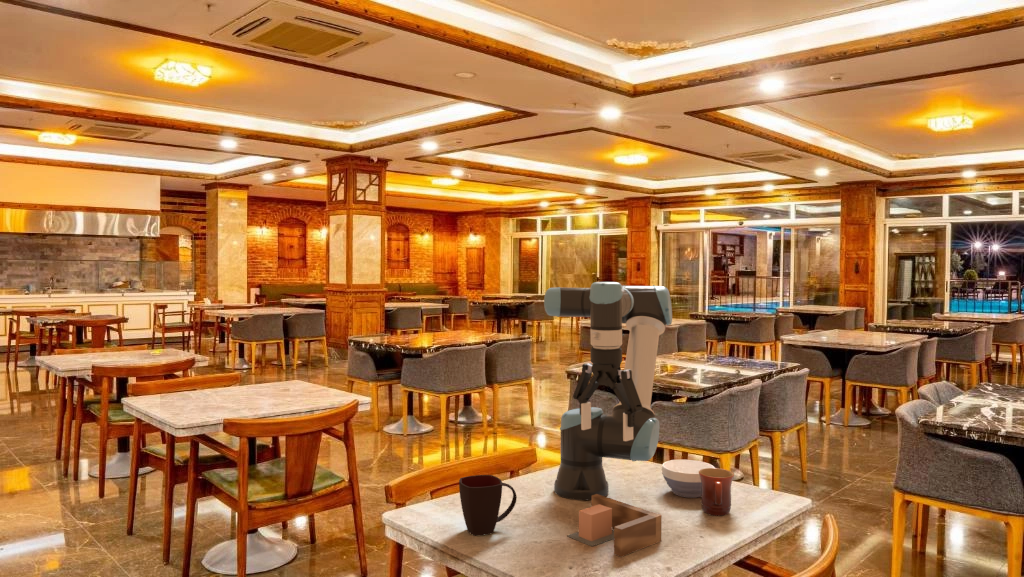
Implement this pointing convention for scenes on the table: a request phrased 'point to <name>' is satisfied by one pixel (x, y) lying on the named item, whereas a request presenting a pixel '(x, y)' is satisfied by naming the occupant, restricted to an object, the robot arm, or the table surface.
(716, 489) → the mug
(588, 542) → the pad
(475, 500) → the mug
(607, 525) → the block
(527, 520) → the table surface
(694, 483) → the bowl
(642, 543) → the corner walls
